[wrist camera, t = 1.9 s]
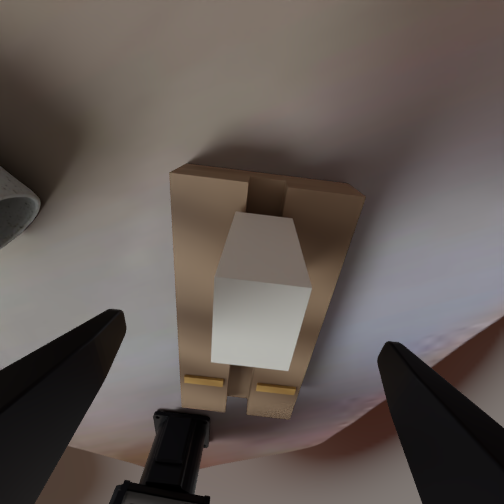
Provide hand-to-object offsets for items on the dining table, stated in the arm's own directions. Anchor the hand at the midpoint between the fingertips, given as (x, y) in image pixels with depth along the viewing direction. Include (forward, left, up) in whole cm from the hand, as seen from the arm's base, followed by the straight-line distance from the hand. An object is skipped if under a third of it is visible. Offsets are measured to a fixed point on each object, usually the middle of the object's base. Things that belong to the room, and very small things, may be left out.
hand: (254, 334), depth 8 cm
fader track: (-7, 0, -9) cm, 12 cm away
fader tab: (0, 0, -8) cm, 8 cm away
